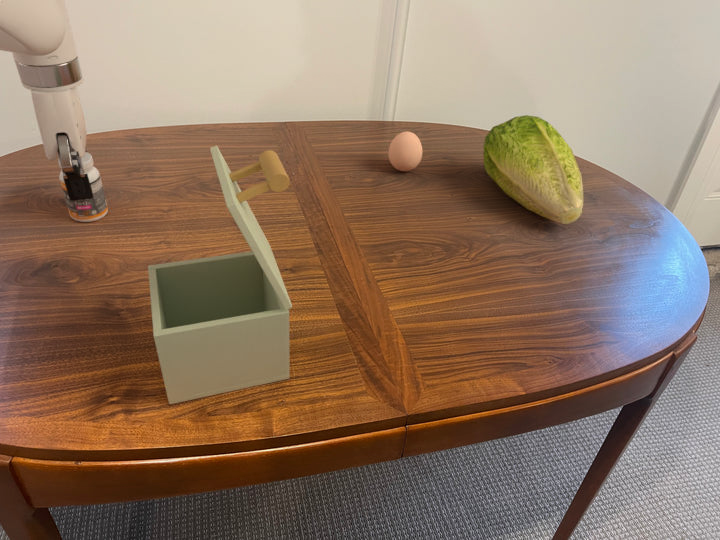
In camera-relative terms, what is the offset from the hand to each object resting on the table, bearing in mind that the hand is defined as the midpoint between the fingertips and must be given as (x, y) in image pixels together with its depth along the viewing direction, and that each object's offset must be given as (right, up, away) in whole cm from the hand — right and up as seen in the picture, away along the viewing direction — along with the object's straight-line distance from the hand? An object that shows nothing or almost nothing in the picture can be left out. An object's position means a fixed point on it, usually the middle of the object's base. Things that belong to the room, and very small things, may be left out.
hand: (82, 187), depth 83 cm
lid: (+32, -9, -28) cm, 43 cm away
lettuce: (+75, 0, +18) cm, 77 cm away
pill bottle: (0, -4, +3) cm, 5 cm away
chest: (+27, -23, -18) cm, 40 cm away
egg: (+52, +7, +24) cm, 57 cm away
